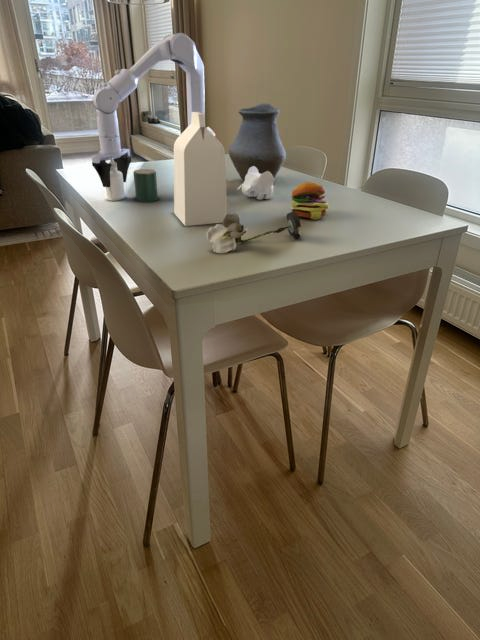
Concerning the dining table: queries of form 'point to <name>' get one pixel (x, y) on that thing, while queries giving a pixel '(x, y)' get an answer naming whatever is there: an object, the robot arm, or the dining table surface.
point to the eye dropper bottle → (115, 183)
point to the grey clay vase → (258, 141)
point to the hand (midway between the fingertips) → (114, 184)
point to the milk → (199, 175)
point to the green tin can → (145, 185)
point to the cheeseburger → (309, 201)
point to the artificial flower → (243, 232)
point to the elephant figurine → (258, 184)
